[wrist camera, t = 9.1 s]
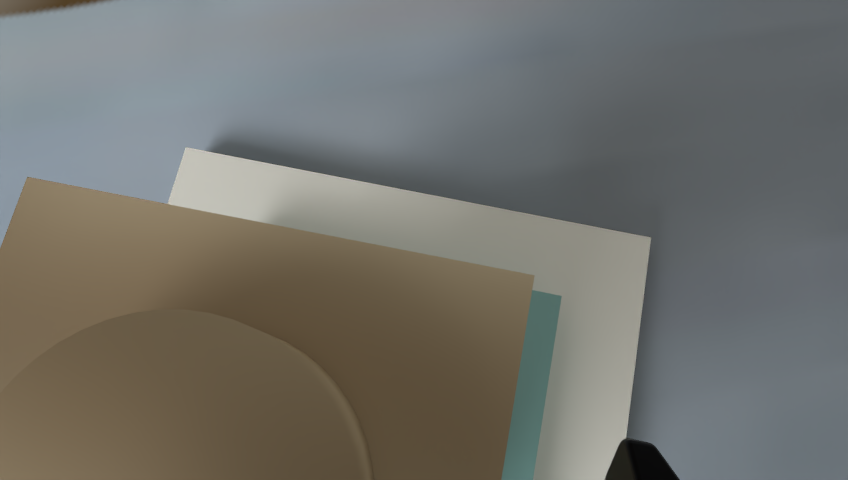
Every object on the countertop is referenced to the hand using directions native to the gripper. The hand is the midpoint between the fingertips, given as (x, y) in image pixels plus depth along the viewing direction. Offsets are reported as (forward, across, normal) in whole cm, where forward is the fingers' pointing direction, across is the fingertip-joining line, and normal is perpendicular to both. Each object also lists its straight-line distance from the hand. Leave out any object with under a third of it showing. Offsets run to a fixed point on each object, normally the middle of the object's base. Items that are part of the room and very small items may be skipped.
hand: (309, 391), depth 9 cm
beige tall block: (+5, 0, +7) cm, 8 cm away
